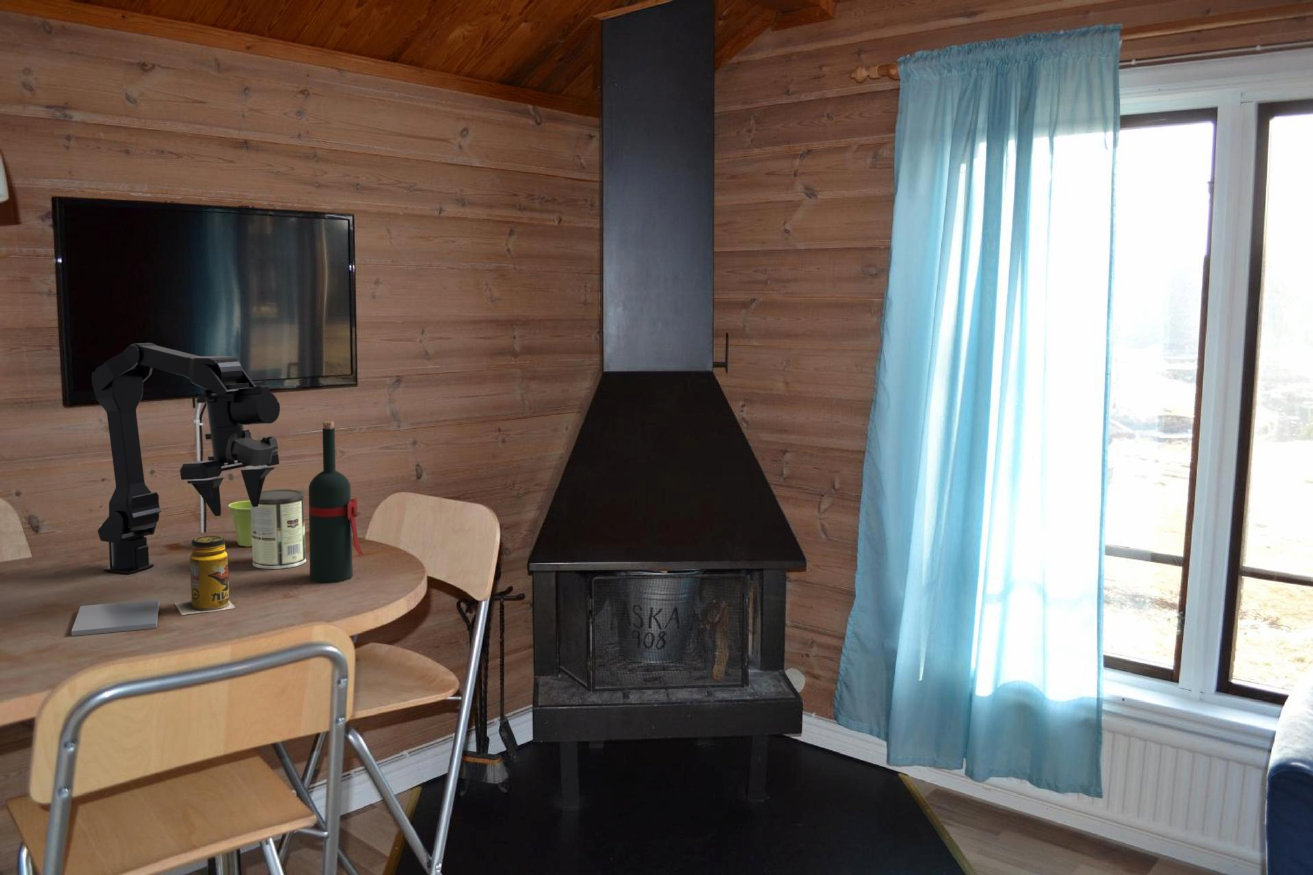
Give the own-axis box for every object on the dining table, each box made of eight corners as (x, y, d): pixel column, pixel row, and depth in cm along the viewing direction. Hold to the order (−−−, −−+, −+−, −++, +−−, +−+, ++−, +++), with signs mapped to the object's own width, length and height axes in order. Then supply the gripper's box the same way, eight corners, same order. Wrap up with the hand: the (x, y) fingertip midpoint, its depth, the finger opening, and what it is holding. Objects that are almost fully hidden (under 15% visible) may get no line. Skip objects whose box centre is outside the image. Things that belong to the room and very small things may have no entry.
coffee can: (269, 554, 217) (267, 487, 215) (315, 558, 215) (314, 490, 213) (241, 567, 207) (238, 497, 205) (289, 571, 205) (287, 500, 203)
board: (81, 610, 178) (80, 605, 177) (159, 603, 182) (159, 599, 182) (71, 635, 165) (71, 631, 165) (156, 627, 170) (156, 623, 169)
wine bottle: (354, 584, 197) (351, 425, 193) (302, 581, 198) (298, 423, 194) (370, 573, 204) (368, 420, 200) (320, 570, 206) (317, 418, 202)
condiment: (235, 608, 181) (233, 540, 179) (182, 616, 176) (179, 546, 175) (226, 597, 187) (224, 531, 185) (174, 604, 182) (171, 537, 181)
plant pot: (248, 537, 232) (247, 498, 231) (285, 541, 229) (284, 501, 228) (219, 546, 223) (218, 506, 222) (257, 550, 220) (256, 510, 219)
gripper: (221, 430, 179) (233, 520, 180) (297, 418, 196) (306, 501, 197) (172, 433, 183) (184, 521, 184) (250, 421, 200) (260, 502, 202)
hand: (237, 511), depth 192 cm, fingers open, 9 cm apart
